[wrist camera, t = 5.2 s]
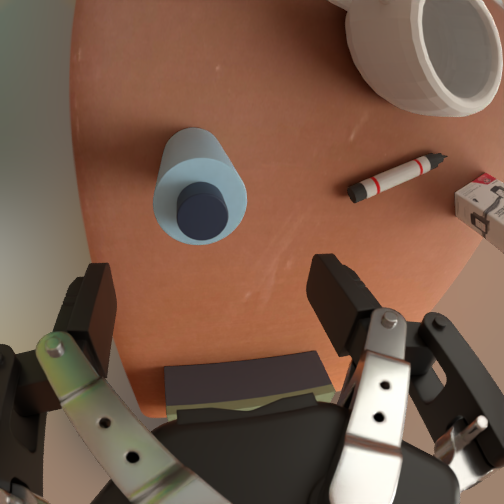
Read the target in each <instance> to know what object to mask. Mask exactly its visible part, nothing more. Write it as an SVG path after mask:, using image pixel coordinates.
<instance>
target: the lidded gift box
mask: <svg viewBox="0 0 504 504" xmlns="http://www.w3.org/2000/svg"><path fill="white" fill-rule="evenodd" d="M164 378H165V399H166V415H167V418H168V421H172V420H176V419H177V412H176V410H180V409H196V408H209V407H213V408H222V409H231V410H242V411H250V410H254V409H256V408H259V407H261V406H264V405H266V404H269V403H271V402H274V401H276V400H278V399H281V398H285V397H291V396H296V395H301V394H307V393H311V392H313V393H314V396H315V398H316V400H317V401H322V402H329V403H330V401H331V399H332V397H333V396H334V394H335V392H336V391H335V389H334V387H333V385H332V383H331V380H330V378H329V376H328V374H327V372H326V370H325V368H324V366H323V364H322V362H321V360H320V357H319V355H318V353H317V351H311V352H305V353H298V354H292V355H285V356H277V357H270V358H262V359H254V360H245V361H235V362H225V363H214V364H201V365H185V366H166V367H164Z"/></svg>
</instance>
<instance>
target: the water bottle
mask: <svg viewBox="0 0 504 504" xmlns="http://www.w3.org/2000/svg"><path fill="white" fill-rule="evenodd" d="M246 205H247V194H246V189H245V186H244V183H243V181H242V179H241V178H240V176H239V174H238V173H237V171H236V170H235V168H234V166H233V165H232V163H231V161H230V160H229V158H228V156H227V155H226V153H225V151H224V150H223V148H222V147H221V145H220V143H219V142H218V140H217V139H216V138H215V136H214V135H212V134H211V133H210V132H208V131H206V130H204V129H201V128H187V129H183V130H181V131H179V132H177V133H176V134H174V135H173V136H172V137H171V138H170V139H169V141H168V142H167V144H166V146H165V148H164V152H163V156H162V160H161V165H160V169H159V173H158V178H157V182H156V187H155V191H154V197H153V209H154V214H155V217H156V219H157V222H158V223H159V225H160V226H161V228H162V229H163V230H164V231H165V232H166V233H167V234H168V235H169V236H171V237H172V238H174V239H176V240H178V241H180V242H183V243H186V244H192V245H205V244H210V243H213V242H216V241H219V240H221V239H223V238H224V237H226V236H228V235H229V234H230V233H231V232H232V231H233V230H234V229H235V228H236V227H237V226H238V225H239V223H240V222H241V220H242V218H243V216H244V213H245V210H246Z"/></svg>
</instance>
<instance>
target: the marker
mask: <svg viewBox="0 0 504 504" xmlns="http://www.w3.org/2000/svg"><path fill="white" fill-rule="evenodd" d="M446 157H448V156H445V155H442V154H441V153H438V154H433V153H430V154H428V155H425V156H422V157H419V158H417V159H414V160H412V161H410V162H407V163H405V164H402V165H400V166H397V167H395V168H392V169H390V170H388V171H385V172H383V173H380V174H378V175H375V176H373V177H371V178H368V179H366V180H363V181H361V182H359V183H357V184H355V185H353V186H350V187H348V188H347V191H348V195H349V197H350V199H351V201H352V202H353V203H357V202H359V201H361V200H364V199H367V198H369V197H371V196H374V195H376V194H378V193H380V192H383V191H385V190H387V189H389V188H392V187H394V186H396V185H398V184H401V183H403V182H405V181H408V180H410V179H412V178H414V177H417V176H419V175H421V174H423V173H426V172H428V171H430V170H432V169H434V168H436V167H438V164H439V163H441V162H443V160H444V158H446Z"/></svg>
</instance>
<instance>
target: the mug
mask: <svg viewBox="0 0 504 504" xmlns="http://www.w3.org/2000/svg"><path fill="white" fill-rule="evenodd" d="M327 1H329V2H331V3H332V4H334V5H336V6H338V7H341V8H343V9H344V10H346V11H348V12H347V15H346V20H345V29H346V37H347V44H348V47H349V50H350V53H351V56H352V58H353V61H354V64H355V65H356V67H357V69H358V70H359V72H360V74H361V75H362V77H363V79H364V80H365V81H366V82H367V84H368V85H369V86H370V87H371V88H372V89H373V90H374V91H375V92H376V93H377V94H378V95H379V96H381V97H382V98H384V99H385V100H387V101H388V102H390V103H391V104H393V105H394V106H396V107H398V108H400V109H403V110H406V111H409V112H412V113H416V114H421V115H427V116H442V117H464V116H468V115H471V114H474V113H476V112H479V111H481V110H483V109H484V108H485V107H486V106H487V105H488V104H489V103H491V101H492V99H493V98H494V96H495V94H496V93H497V90H498V87H499V84H500V81H501V75H502V66H503V61H502V47H501V43H500V38H499V34H498V31H497V28H496V25H495V23H494V20H493V18H492V16H491V14H490V12H489V11H488V9H487V7H486V6H485V4H484V2H483V1H482V0H327Z"/></svg>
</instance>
